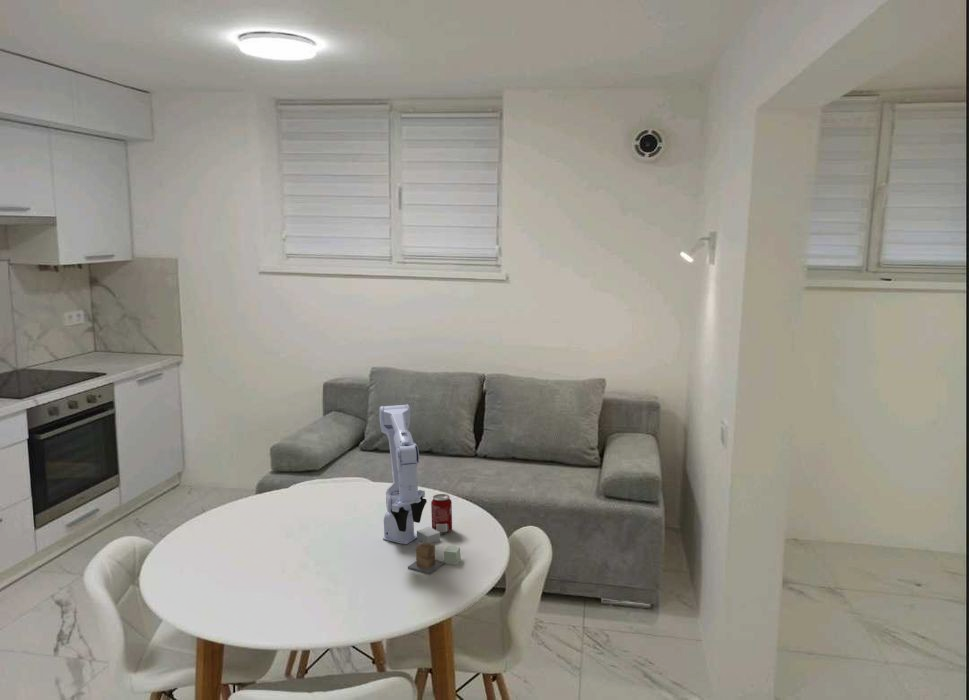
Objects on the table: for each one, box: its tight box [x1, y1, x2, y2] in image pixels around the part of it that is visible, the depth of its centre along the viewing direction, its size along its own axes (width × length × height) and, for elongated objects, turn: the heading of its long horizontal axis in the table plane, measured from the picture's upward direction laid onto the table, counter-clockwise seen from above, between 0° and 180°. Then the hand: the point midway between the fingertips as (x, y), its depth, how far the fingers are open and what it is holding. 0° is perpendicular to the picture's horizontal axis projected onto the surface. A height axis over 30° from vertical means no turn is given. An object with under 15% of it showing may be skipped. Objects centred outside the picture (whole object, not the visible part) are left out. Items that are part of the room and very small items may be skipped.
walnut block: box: [415, 542, 436, 569], centre depth 222 cm, size 4×4×6 cm
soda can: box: [430, 493, 453, 535], centre depth 247 cm, size 7×7×12 cm
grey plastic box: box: [416, 526, 441, 544], centre depth 242 cm, size 6×5×3 cm
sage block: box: [443, 545, 461, 566], centre depth 226 cm, size 4×4×4 cm
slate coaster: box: [407, 558, 445, 575], centre depth 223 cm, size 8×8×1 cm
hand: (409, 526), depth 228 cm, fingers open, 7 cm apart
